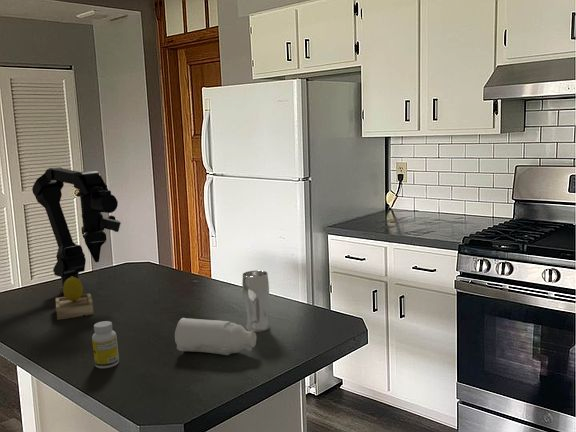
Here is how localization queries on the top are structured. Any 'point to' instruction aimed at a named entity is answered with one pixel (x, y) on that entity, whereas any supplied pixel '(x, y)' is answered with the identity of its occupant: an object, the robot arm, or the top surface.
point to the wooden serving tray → (74, 307)
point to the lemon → (72, 289)
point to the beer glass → (256, 299)
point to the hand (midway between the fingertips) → (95, 259)
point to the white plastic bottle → (213, 336)
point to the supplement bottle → (105, 345)
